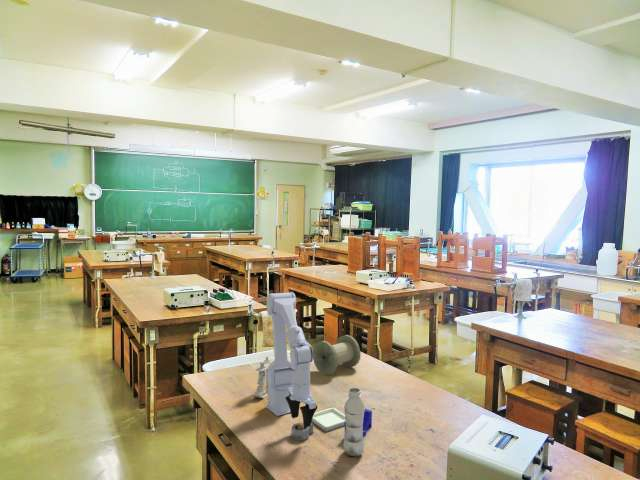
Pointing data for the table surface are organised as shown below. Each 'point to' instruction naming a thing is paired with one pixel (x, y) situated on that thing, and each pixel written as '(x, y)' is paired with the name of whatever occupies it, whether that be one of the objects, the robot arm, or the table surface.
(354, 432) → the plastic bottle
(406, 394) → the table surface
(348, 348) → the spool
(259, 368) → the white figurine
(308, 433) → the grey octagonal ring
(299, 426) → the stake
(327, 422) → the tray
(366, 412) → the cable clip
